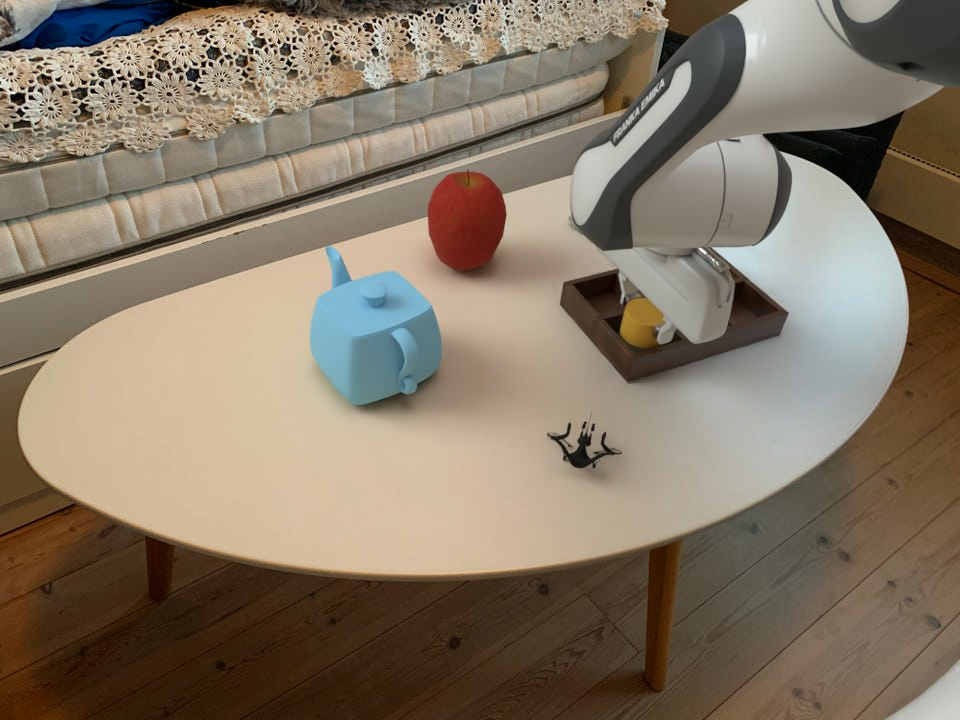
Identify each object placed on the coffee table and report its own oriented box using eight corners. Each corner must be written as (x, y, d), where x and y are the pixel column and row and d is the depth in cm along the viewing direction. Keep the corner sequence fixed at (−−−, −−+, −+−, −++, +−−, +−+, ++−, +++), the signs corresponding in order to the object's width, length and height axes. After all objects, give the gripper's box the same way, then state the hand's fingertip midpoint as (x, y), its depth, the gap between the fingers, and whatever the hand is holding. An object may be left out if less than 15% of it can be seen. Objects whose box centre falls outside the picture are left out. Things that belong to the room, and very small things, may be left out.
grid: (780, 335, 96) (789, 313, 94) (627, 382, 88) (633, 359, 86) (702, 267, 106) (709, 245, 104) (559, 304, 98) (563, 281, 96)
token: (671, 342, 89) (678, 319, 87) (635, 352, 88) (641, 329, 85) (646, 316, 93) (652, 293, 90) (611, 326, 91) (616, 303, 89)
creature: (550, 428, 84) (534, 470, 77) (559, 385, 81) (543, 425, 74) (622, 447, 82) (613, 491, 75) (633, 404, 79) (625, 447, 73)
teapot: (377, 303, 96) (375, 224, 88) (461, 390, 85) (466, 308, 78) (285, 338, 90) (273, 256, 82) (362, 435, 80) (357, 351, 72)
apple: (464, 296, 98) (470, 200, 89) (409, 262, 103) (409, 167, 93) (517, 264, 104) (528, 170, 95) (463, 233, 109) (468, 141, 99)
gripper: (763, 267, 74) (724, 373, 83) (641, 168, 87) (619, 268, 97) (711, 281, 72) (676, 388, 81) (594, 177, 85) (576, 279, 94)
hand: (644, 322), depth 89 cm, fingers closed on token, 5 cm apart
